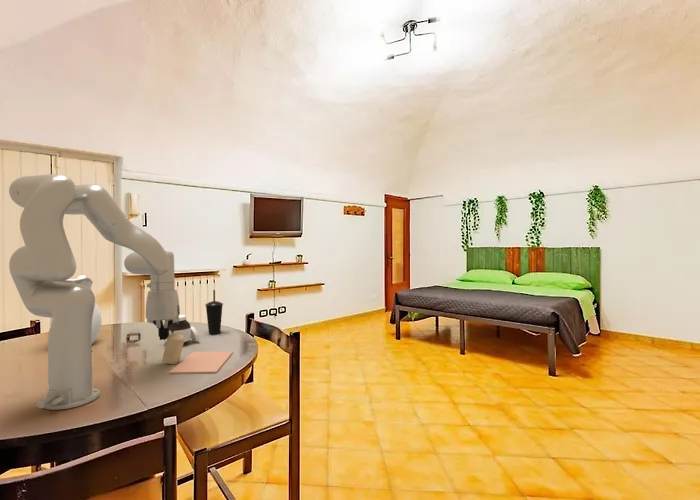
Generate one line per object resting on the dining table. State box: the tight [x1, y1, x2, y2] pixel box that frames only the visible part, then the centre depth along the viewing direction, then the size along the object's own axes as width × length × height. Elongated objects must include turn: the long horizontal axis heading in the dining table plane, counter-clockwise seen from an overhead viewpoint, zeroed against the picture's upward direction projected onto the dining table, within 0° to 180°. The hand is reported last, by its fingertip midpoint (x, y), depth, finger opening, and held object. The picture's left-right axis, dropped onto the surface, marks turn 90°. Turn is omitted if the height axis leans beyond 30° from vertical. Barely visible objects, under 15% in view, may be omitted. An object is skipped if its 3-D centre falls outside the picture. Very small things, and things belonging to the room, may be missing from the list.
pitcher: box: [49, 274, 102, 344], centre depth 159 cm, size 24×17×28 cm
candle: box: [161, 332, 185, 365], centre depth 134 cm, size 6×6×10 cm
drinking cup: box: [204, 289, 224, 336], centre depth 175 cm, size 8×8×20 cm
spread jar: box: [163, 314, 200, 347], centre depth 159 cm, size 12×11×12 cm
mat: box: [168, 350, 234, 375], centre depth 135 cm, size 22×15×1 cm
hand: (163, 338), depth 134 cm, fingers closed
